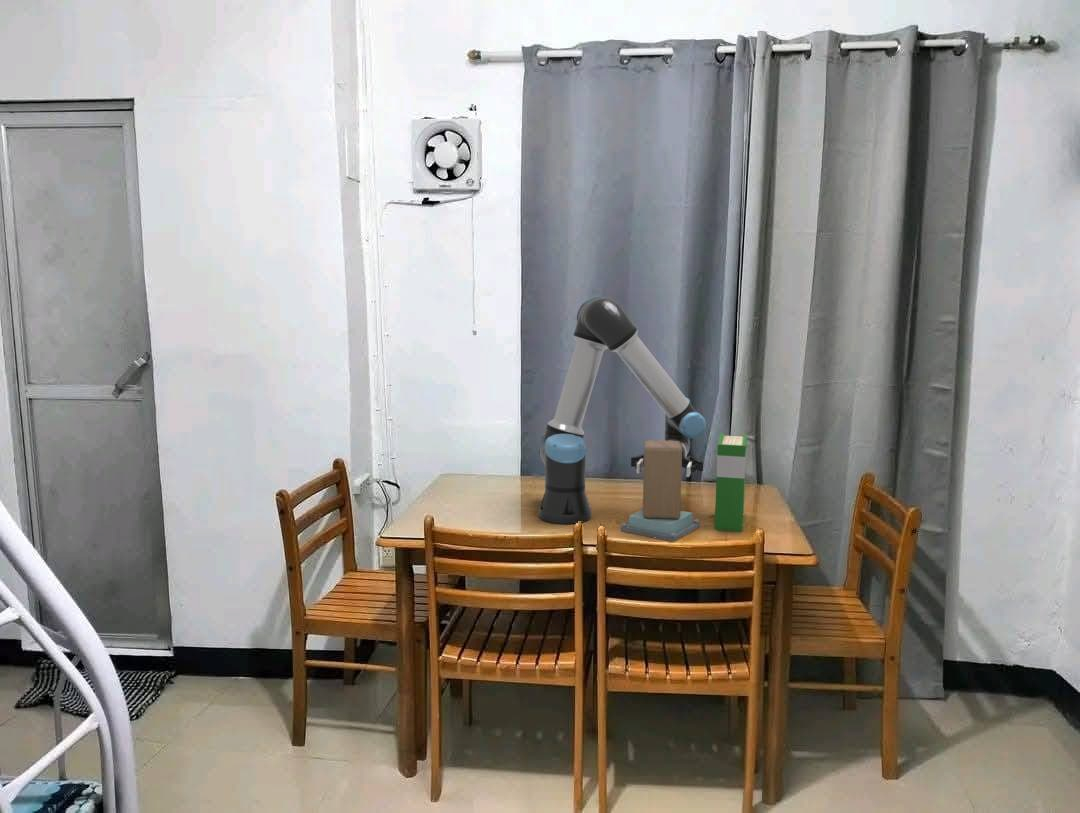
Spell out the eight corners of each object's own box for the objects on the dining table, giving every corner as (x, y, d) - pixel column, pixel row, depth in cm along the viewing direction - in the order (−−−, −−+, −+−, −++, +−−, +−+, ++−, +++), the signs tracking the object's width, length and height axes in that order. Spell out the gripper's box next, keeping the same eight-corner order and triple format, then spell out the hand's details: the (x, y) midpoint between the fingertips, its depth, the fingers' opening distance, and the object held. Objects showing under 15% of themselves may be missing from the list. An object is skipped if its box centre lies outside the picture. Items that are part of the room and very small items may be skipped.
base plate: (621, 530, 219) (621, 516, 219) (648, 517, 232) (649, 503, 231) (673, 542, 210) (674, 526, 209) (699, 527, 223) (700, 512, 222)
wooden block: (678, 509, 225) (680, 440, 222) (680, 520, 215) (682, 447, 212) (642, 508, 226) (644, 439, 223) (643, 518, 216) (644, 446, 213)
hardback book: (717, 511, 238) (720, 432, 234) (743, 513, 236) (746, 434, 232) (714, 529, 221) (717, 444, 217) (742, 531, 219) (745, 446, 215)
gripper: (714, 469, 235) (708, 487, 215) (631, 463, 242) (617, 480, 222) (715, 444, 234) (709, 459, 213) (631, 439, 241) (617, 454, 220)
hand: (662, 470), depth 217 cm, fingers open, 13 cm apart
